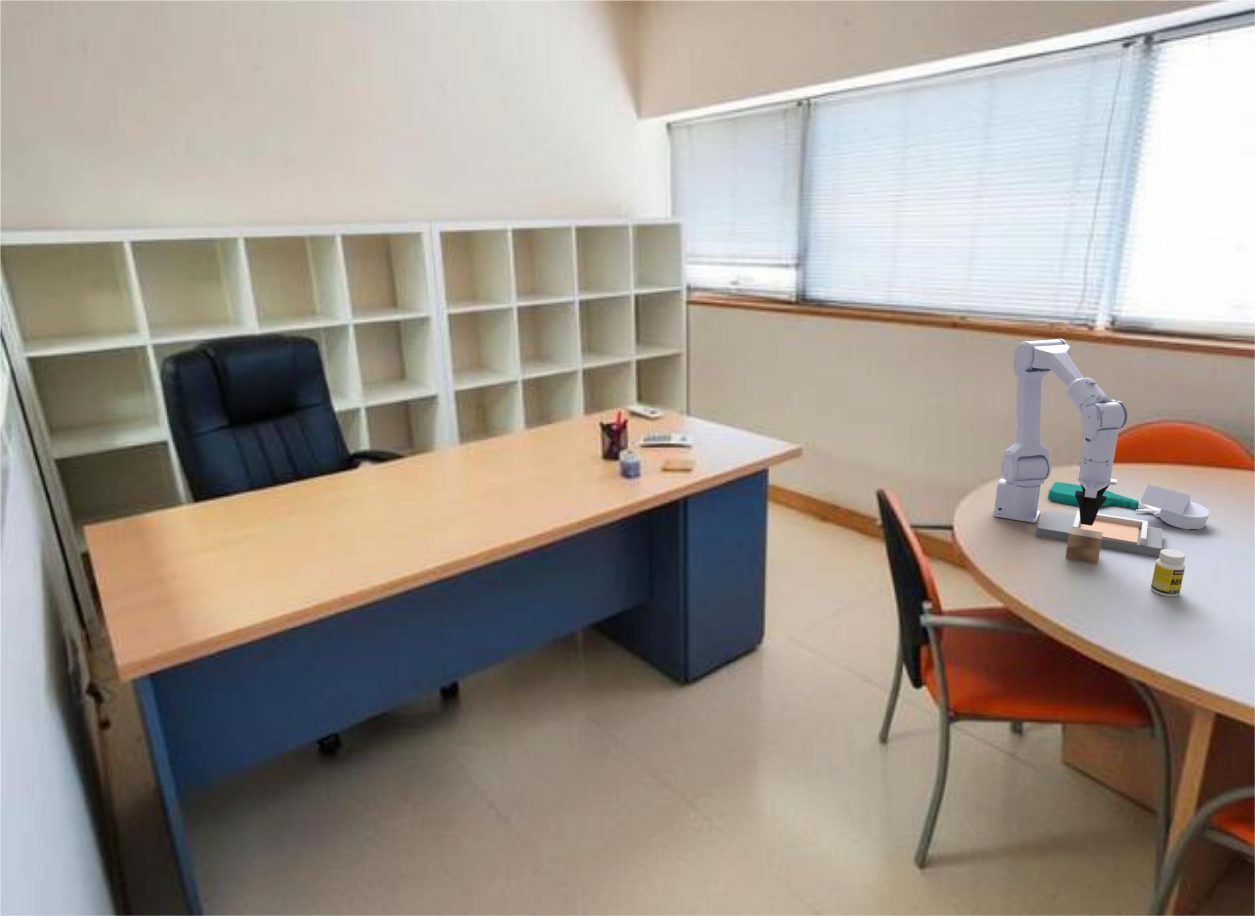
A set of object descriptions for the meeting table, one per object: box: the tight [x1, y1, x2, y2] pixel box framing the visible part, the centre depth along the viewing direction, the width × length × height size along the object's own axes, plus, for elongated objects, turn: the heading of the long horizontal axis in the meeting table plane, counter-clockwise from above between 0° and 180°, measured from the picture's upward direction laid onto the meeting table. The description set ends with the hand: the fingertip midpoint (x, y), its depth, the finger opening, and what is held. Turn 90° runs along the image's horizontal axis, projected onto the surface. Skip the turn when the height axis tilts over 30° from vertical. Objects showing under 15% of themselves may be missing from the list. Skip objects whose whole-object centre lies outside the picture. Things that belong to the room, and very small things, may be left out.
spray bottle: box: [1047, 481, 1161, 518], centre depth 191 cm, size 3×11×24 cm
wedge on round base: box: [1139, 484, 1210, 530], centre depth 177 cm, size 9×7×13 cm
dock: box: [1035, 509, 1164, 557], centre depth 172 cm, size 24×12×4 cm, turn 55°
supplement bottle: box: [1150, 548, 1186, 598], centre depth 147 cm, size 5×5×8 cm
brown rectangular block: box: [1065, 527, 1103, 565], centre depth 162 cm, size 6×4×6 cm, turn 55°
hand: (1088, 518), depth 160 cm, fingers open, 7 cm apart
